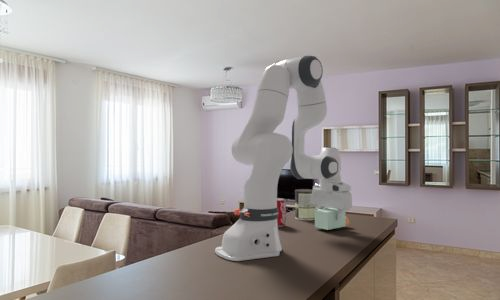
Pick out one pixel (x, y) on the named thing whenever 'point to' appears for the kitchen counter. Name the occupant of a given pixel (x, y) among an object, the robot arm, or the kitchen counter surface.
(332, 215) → the mint green block
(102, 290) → the kitchen counter surface
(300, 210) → the coffee can
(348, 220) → the orange sphere
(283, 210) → the soda can
